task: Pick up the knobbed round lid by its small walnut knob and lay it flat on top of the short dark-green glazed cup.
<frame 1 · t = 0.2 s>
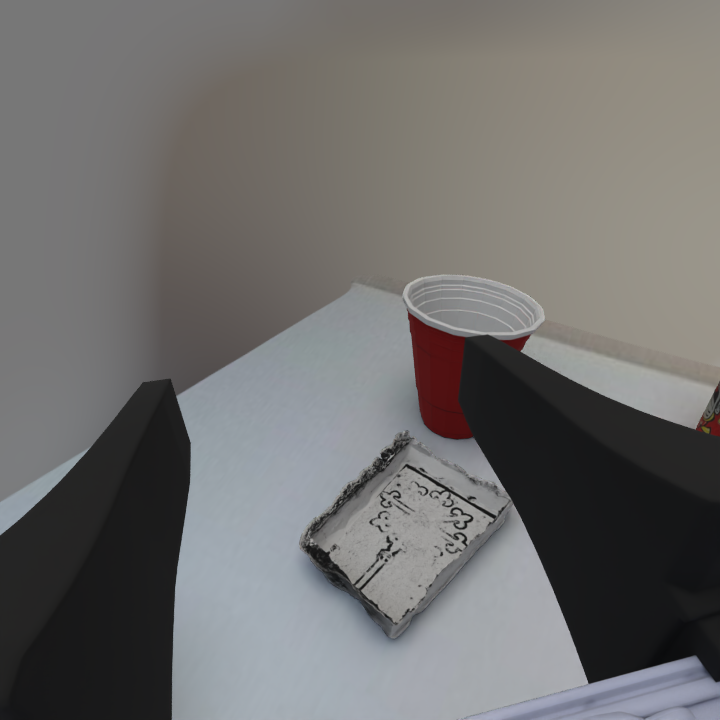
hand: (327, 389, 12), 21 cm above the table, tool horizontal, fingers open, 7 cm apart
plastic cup: (455, 419, 44), on the table
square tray: (403, 536, 33), on the table
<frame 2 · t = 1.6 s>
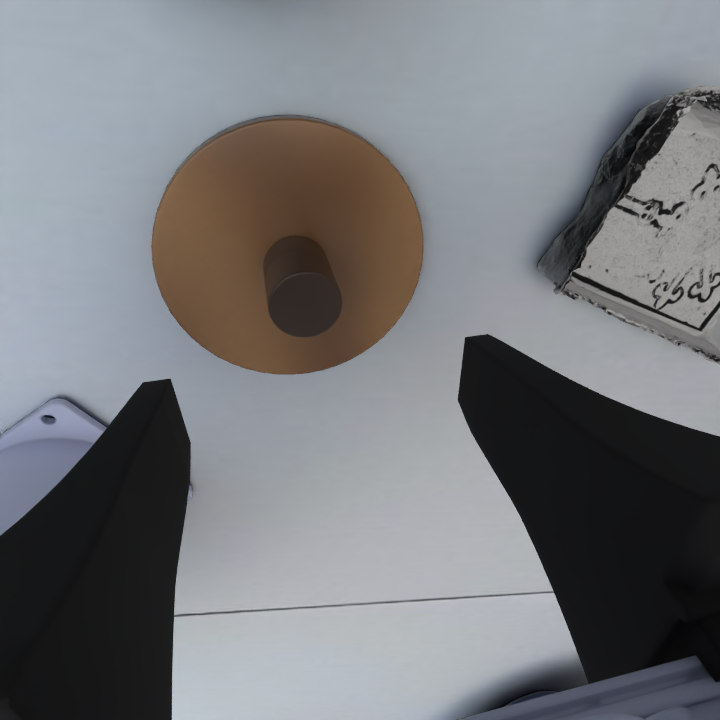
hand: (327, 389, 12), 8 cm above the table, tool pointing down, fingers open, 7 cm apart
knobbed round lid: (293, 258, 19), on the table
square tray: (682, 221, 22), on the table
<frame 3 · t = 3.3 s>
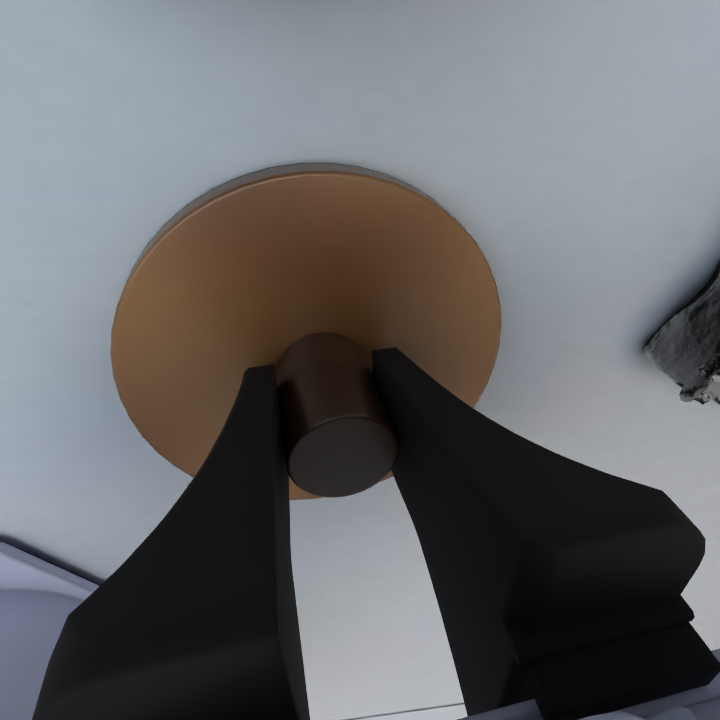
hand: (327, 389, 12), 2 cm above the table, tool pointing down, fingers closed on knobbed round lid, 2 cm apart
knobbed round lid: (317, 354, 13), on the table, touching gripper
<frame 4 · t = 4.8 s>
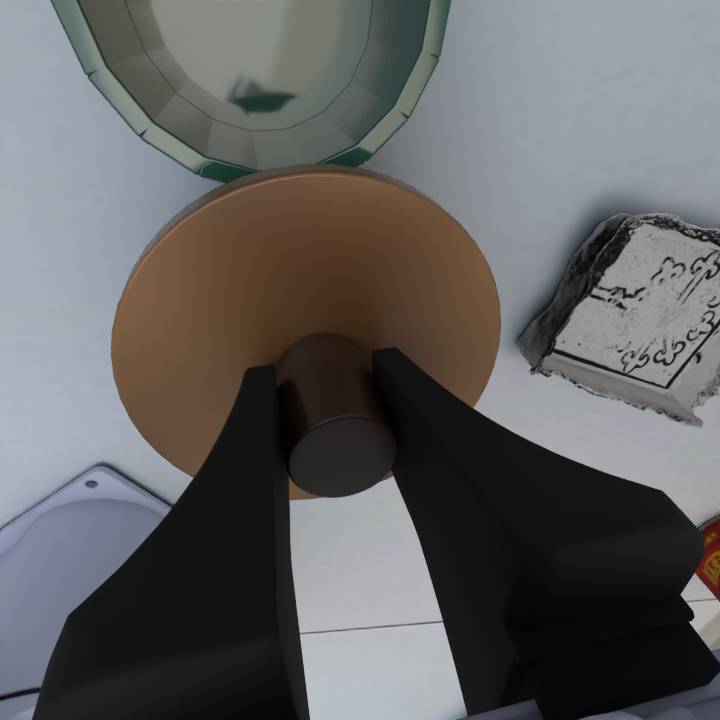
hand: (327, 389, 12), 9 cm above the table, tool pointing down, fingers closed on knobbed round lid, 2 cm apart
knobbed round lid: (317, 354, 13), point 7 cm above the table, touching gripper
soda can: (715, 530, 41), on the table
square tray: (645, 301, 25), on the table
when the fingers open (8 cm above the table, at t = 6.3 s): knobbed round lid stays where it is, resting on cup.
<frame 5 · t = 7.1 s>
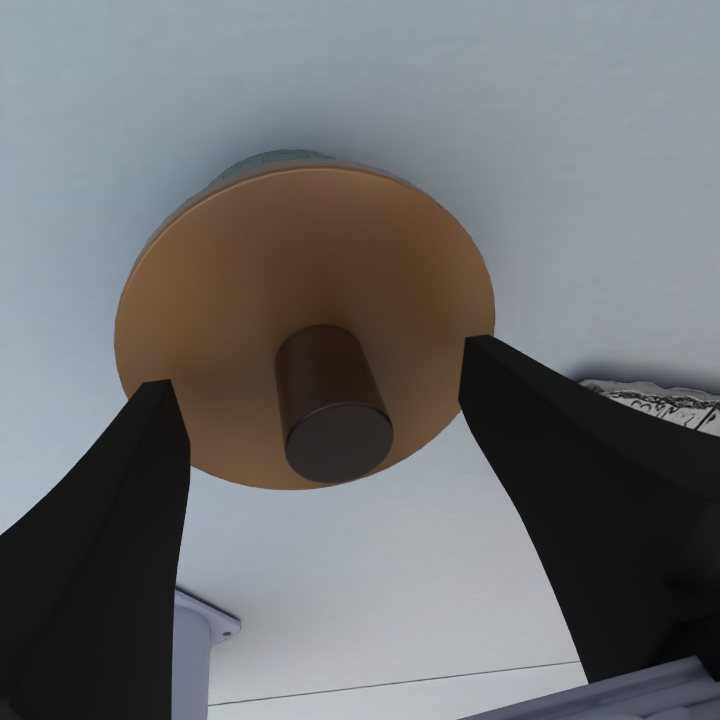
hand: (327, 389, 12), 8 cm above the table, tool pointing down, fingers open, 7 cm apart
knobbed round lid: (315, 346, 14), point 6 cm above the table, touching cup
cup: (294, 262, 18), on the table, touching knobbed round lid
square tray: (617, 430, 29), on the table
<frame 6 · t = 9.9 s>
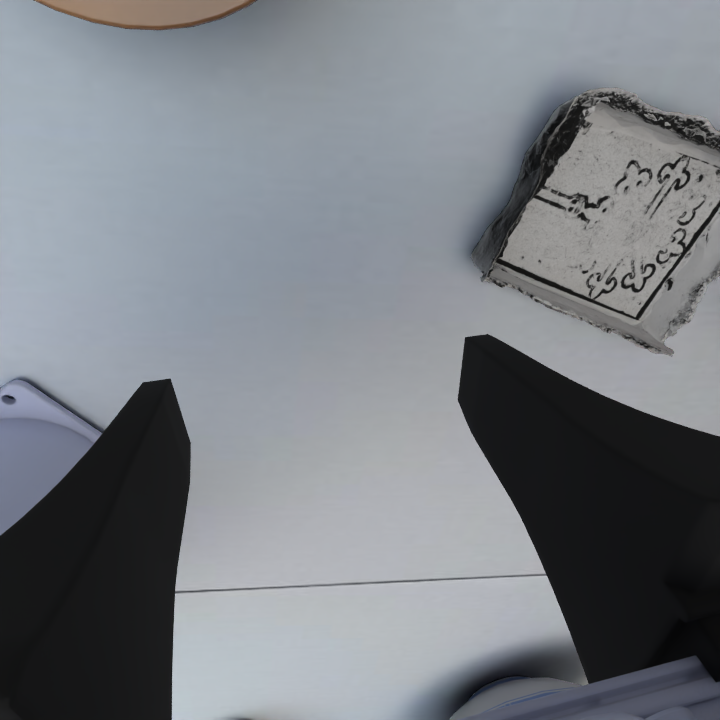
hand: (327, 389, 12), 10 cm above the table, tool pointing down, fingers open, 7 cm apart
ramen bowl: (498, 689, 55), on the table
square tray: (610, 214, 23), on the table
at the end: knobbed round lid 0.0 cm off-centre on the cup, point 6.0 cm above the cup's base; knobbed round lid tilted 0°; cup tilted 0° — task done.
